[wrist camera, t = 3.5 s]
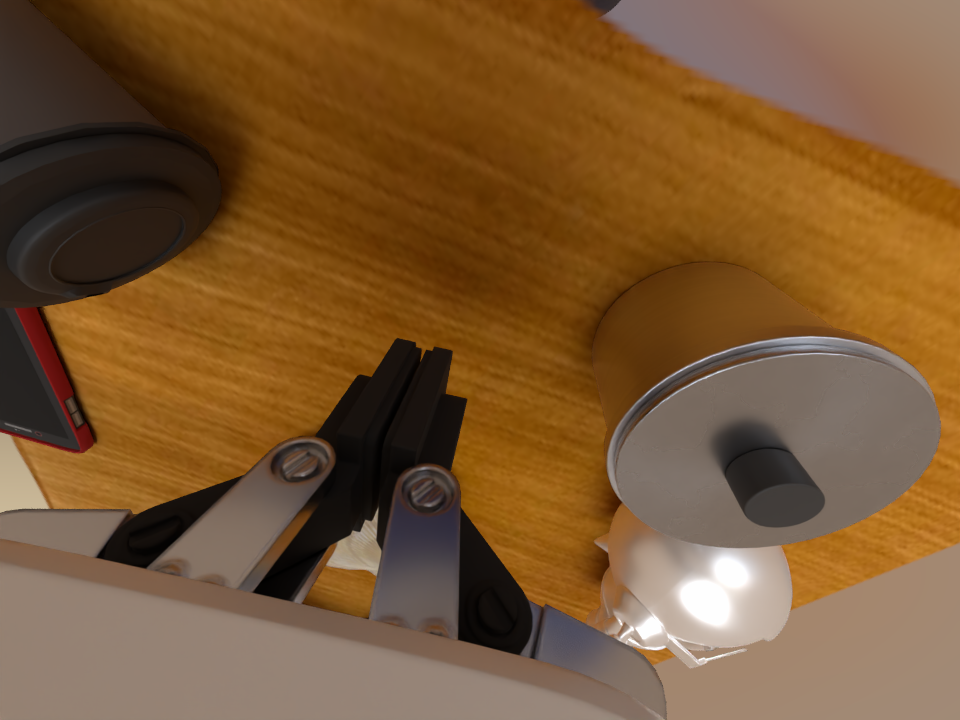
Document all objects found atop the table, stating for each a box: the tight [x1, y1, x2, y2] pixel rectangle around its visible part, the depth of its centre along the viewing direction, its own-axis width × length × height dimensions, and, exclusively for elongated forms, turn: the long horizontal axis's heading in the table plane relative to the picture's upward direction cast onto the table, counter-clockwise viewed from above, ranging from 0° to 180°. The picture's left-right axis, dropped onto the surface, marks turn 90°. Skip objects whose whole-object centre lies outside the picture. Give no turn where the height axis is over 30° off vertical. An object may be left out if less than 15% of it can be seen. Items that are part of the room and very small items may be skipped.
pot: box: [592, 262, 941, 548], centre depth 13 cm, size 8×8×8 cm
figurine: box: [586, 502, 792, 668], centre depth 20 cm, size 11×7×15 cm
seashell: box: [326, 509, 382, 576], centre depth 23 cm, size 12×12×3 cm
